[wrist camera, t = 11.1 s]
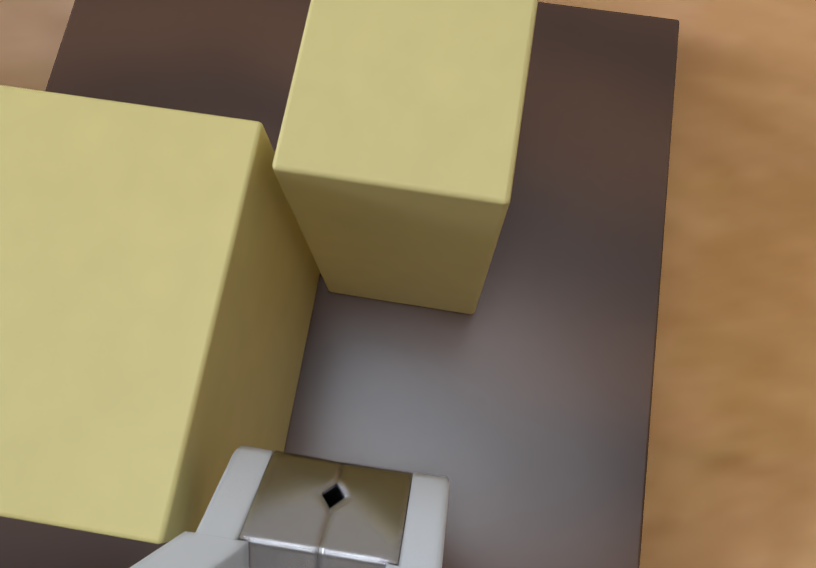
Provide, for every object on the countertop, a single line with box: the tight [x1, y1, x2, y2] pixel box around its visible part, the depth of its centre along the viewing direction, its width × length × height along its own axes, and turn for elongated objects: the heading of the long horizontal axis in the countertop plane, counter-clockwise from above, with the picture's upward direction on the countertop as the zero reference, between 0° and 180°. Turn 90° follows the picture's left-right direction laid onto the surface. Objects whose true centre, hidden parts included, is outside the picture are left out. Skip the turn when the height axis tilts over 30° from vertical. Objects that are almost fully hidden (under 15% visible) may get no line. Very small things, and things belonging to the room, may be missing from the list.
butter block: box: [0, 85, 320, 544], centre depth 14 cm, size 6×8×7 cm
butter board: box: [0, 0, 679, 568], centre depth 17 cm, size 22×16×1 cm
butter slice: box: [272, 0, 538, 314], centre depth 15 cm, size 6×4×7 cm, turn 170°
